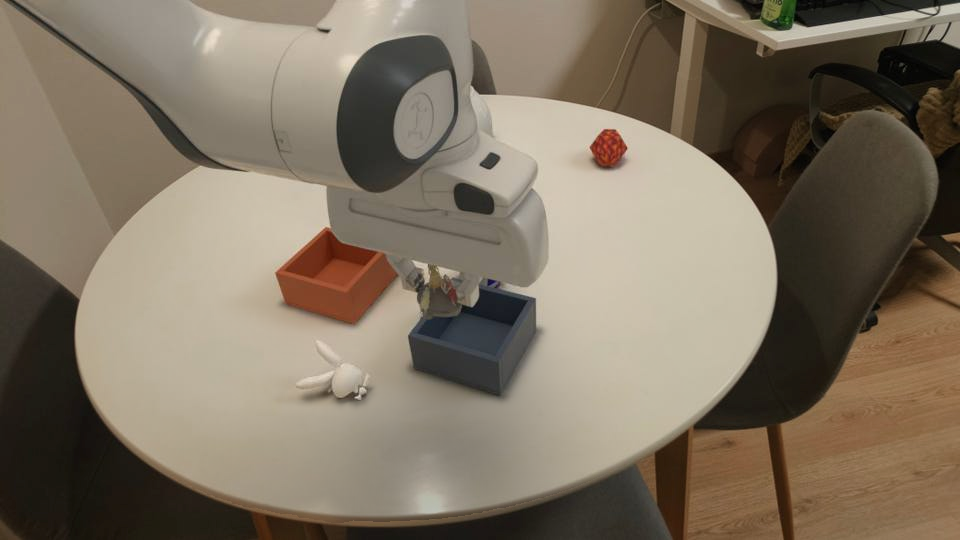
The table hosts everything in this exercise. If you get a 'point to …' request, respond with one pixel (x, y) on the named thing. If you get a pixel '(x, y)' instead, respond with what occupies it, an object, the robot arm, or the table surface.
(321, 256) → the terracotta bin
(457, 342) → the slate bin
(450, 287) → the figurine
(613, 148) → the decorative stone
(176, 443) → the table surface
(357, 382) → the rabbit figurine
